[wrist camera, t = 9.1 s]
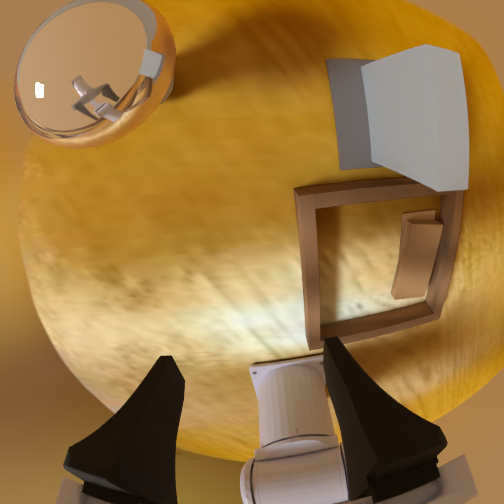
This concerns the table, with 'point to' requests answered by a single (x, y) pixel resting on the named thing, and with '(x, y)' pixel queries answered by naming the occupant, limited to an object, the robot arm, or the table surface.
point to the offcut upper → (416, 258)
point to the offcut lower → (415, 216)
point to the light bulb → (94, 72)
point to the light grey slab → (419, 116)
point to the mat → (350, 113)
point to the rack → (363, 193)
